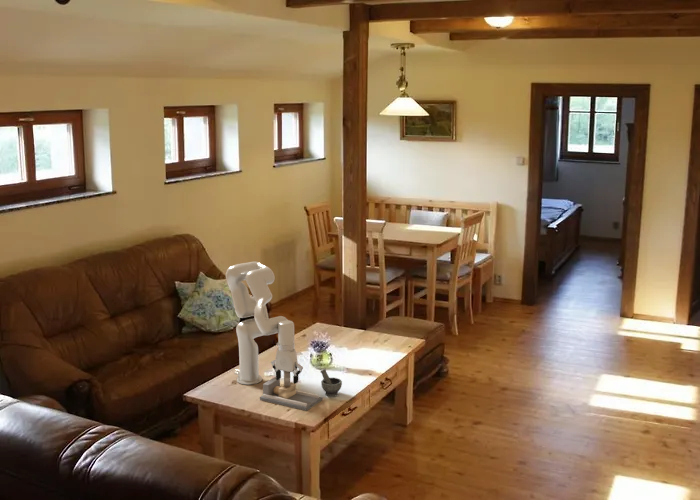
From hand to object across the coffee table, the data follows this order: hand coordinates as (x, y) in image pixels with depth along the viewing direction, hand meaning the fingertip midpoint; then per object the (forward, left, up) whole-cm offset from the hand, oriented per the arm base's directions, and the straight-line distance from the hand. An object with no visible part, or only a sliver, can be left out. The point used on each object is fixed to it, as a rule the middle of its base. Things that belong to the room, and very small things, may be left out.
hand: (287, 380), depth 373 cm
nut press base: (+2, 0, -9) cm, 10 cm away
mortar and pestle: (+15, +15, -9) cm, 23 cm away
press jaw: (0, 0, -8) cm, 8 cm away
